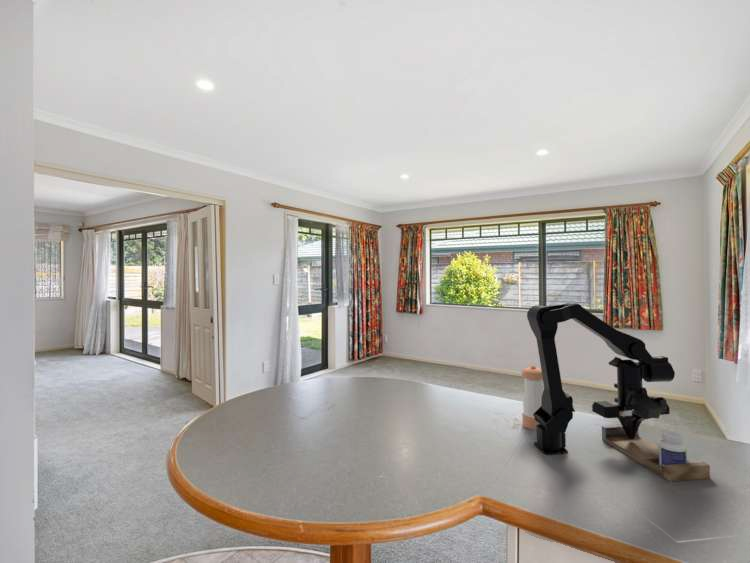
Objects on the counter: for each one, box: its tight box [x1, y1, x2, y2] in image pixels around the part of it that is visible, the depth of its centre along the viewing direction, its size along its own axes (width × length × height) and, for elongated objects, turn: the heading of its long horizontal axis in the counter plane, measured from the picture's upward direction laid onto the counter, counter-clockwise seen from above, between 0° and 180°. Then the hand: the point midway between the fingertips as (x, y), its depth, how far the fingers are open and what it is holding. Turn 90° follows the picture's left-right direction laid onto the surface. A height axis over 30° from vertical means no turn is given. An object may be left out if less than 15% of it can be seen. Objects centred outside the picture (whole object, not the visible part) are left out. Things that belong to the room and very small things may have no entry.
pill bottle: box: [658, 430, 688, 468], centre depth 92 cm, size 5×5×9 cm
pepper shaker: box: [521, 364, 544, 430], centre depth 121 cm, size 7×7×19 cm
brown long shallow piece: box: [601, 424, 711, 482], centre depth 98 cm, size 10×22×4 cm, turn 5°
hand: (631, 438), depth 105 cm, fingers closed
